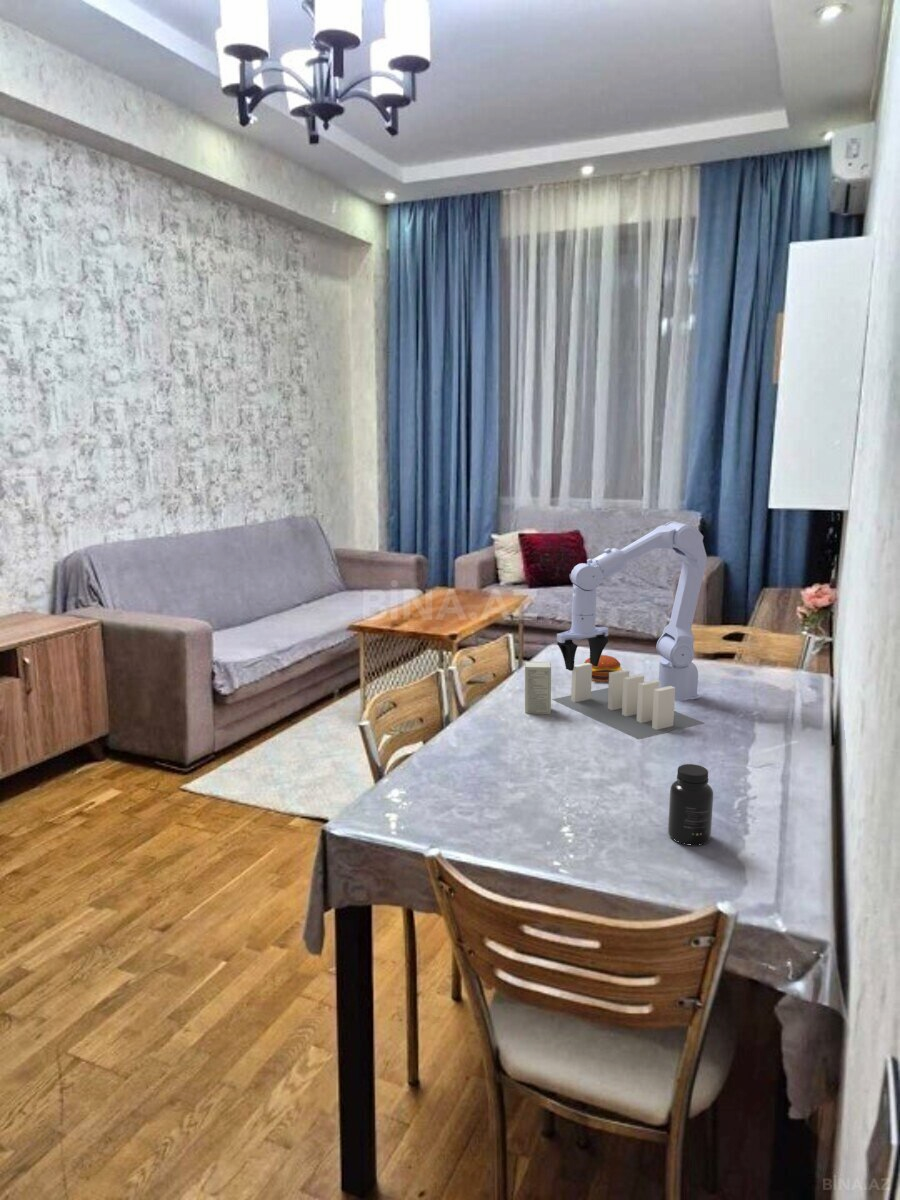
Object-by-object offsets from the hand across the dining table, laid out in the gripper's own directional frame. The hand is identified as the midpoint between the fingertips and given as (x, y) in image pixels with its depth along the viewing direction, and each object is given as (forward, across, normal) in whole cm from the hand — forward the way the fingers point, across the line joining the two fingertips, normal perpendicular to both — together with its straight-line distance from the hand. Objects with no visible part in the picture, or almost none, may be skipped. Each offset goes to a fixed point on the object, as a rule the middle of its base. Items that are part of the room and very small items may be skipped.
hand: (581, 667), depth 201 cm
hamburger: (+9, -17, -12) cm, 23 cm away
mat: (+9, -4, +12) cm, 15 cm away
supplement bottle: (+9, +28, +63) cm, 70 cm away
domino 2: (+8, -4, +9) cm, 13 cm away
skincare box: (+9, +14, +1) cm, 17 cm away
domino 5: (+8, -4, +24) cm, 26 cm away
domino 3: (+8, -4, +14) cm, 17 cm away
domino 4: (+8, -4, +19) cm, 21 cm away
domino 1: (+8, 0, 0) cm, 8 cm away
